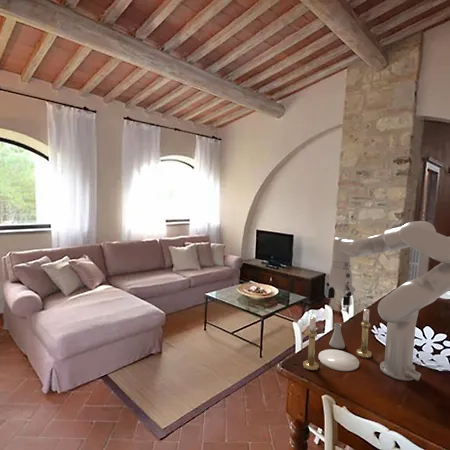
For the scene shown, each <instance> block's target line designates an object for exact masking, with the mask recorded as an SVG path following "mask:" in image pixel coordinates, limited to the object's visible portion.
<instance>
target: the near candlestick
mask: <svg viewBox="0 0 450 450" xmlns="http://www.w3.org/2000/svg"><path fill="white" fill-rule="evenodd" d="M316 323H317V318H316V317H315V316H310V317H309V330H308V331H307V336H308V350H307V354H308V355H307V360H304V361H303V362H302V367H303V366H304V367H303V368H304V369H305V368H306V369H308V370H307V371H309V370H313V371H312V372H315V371H314V370H316V371H318V370H319V369H318V368H319V363H318V362H316V361H315V352H316V350H315V349H316V337H318V333H317V331H316V326H317V325H316ZM306 369H305V370H306Z"/></svg>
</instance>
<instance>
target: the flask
mask: <svg viewBox="0 0 450 450" xmlns="http://www.w3.org/2000/svg"><path fill="white" fill-rule="evenodd" d="M333 325H334V330H333V333H332V336H331V338H330V341H329V343H328V345H329V346H330V347H331V348H334V349H336V350H339V349H342V350H343V349H345V346H346V345H345V341H344V338H343V334H342V324H341V323H334V324H333Z"/></svg>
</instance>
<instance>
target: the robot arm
mask: <svg viewBox="0 0 450 450" xmlns="http://www.w3.org/2000/svg"><path fill="white" fill-rule="evenodd" d="M408 248H411V249H413V250H415V251H417V252H419V253H421V254H423V255H425V256H427V257H428V258H431V259H433V260H435V261H437V262H440V263H439V264H437V265H435V266H434V267H433V268H432V269H430V270H429V271H427V272H426V273H425V274H423V275H421V276H419V277H416V278H413V279H409V280H408V281H406V282H404V283H402V284H400V285H399V286H398V287H396V288H394V290H392V291H391V292H390V293H388V294H387V295H385V296H384V297H383V298H382V299H381V300H379V302H378V304H377V312H378V315H379V316H380V318H381V319H382V320H383V321H385V322H387V323H386V332H385V333H386V336H385V351H384V361H382V362H380V364H379V369H380V371H381V372H382V373H383V374H385V375H386V376H388V377H390V378H392V379H395V380H399V381H404V382H405V381H413V380H415V381H417V382H418V381H419V380H420V378H421V376H422V374H421V372H418V371H416V365H415V364H413V363H414V349H415V348H414V347H415V338H416V337H415V335H416V326H417V322H418V316H419V312H420V310H421V309H423V308H424V307H426V306H428V305H430V304H433V303H434V302H435V301H437V299H439V298H440V297H442V296H443V295H444V294H446V293H448V292H449V291H450V236H446V235H444V234H441V233H439V232H437V230H436V228H435V226H434V224H432V223H431V222H429V221H426V220H418V221H417V220H415V221H408V222H406V223H405V224H404V225H400V226H396V227H393V228H387V229H386V230H384V232H382V233H380V234H376V235H373V236H369V237H363V238H357V239H356V238H355V239H351V238H350V237H346V236H335V237H334V239H333V246H332V259H331V260H332V262H331V267H330V271H329V277H326V278H325V283H326V286H327V290H328V293H327V298H328V299H334V298H335V290H337V291H340V292H342V293H343V294H344V296H343V297H342V298H343V300H342V306H345V307H346V306H350V305H351V304H350V303H351V297H352V296H353V295H354V293H355V291H356V289H355V287H354V286H353V275H352V273H353V272H352V269H351V258H360V257H365V256H370V255H375V254H379V253H383V252H387V251H389V252H390V251H391V252H393V251H397V250H398V251H399V250H402V249H408Z"/></svg>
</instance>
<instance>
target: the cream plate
mask: <svg viewBox="0 0 450 450" xmlns="http://www.w3.org/2000/svg"><path fill="white" fill-rule="evenodd" d="M317 358H318V360H320V361H319V362H320V363H321V364H322V365H323V366H325V367H326V368H329V369H332V370H335V371H340V372H353V371H355V370H358V368H359V367H360V361H359V359H358V358H357V357H356V356H355V355H353V354H351V353H349V352H346V351H344V350H339V349H324V350H322V351H319V353H318V357H317Z"/></svg>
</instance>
